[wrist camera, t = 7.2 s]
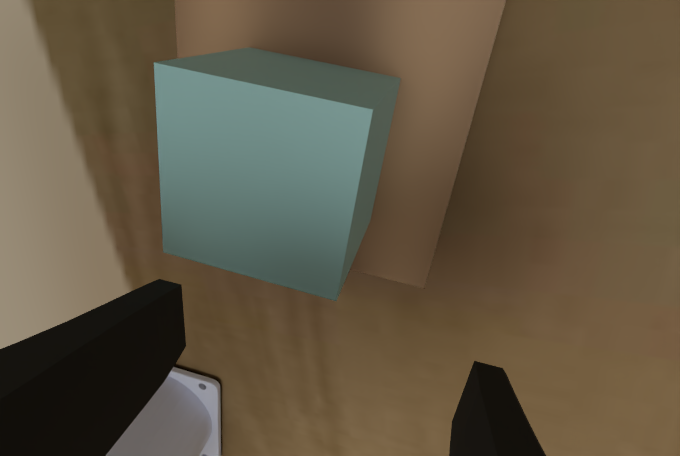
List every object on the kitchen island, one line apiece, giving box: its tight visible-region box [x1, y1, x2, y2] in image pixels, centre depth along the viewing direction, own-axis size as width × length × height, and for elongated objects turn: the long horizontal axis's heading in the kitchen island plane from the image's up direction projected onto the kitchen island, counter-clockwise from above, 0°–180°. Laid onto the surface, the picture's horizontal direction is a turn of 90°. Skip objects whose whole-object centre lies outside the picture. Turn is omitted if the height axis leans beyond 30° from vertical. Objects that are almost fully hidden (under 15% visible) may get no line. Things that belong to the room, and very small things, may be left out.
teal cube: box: [154, 47, 401, 301], centre depth 12 cm, size 5×5×5 cm
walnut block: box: [175, 0, 506, 289], centre depth 16 cm, size 10×10×4 cm
